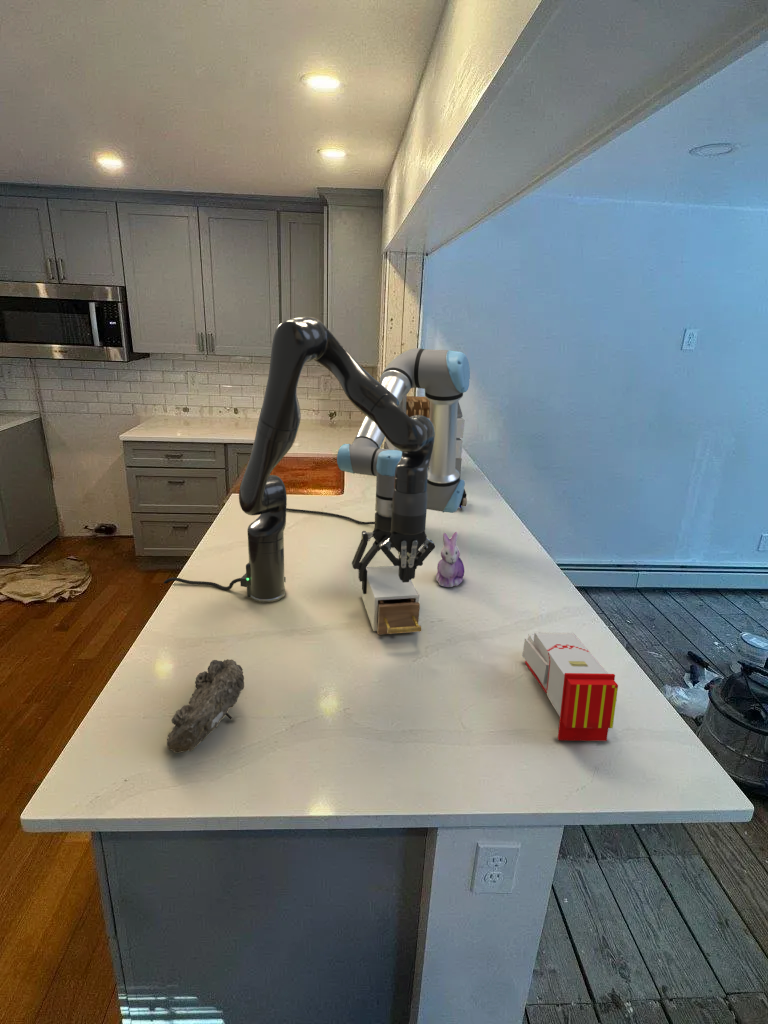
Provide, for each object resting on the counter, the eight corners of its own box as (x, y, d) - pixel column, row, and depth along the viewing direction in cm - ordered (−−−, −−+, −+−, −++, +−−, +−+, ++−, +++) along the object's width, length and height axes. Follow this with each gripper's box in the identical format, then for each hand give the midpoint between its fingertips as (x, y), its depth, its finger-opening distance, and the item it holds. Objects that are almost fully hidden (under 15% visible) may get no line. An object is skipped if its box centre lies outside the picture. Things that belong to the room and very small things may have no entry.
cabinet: (416, 628, 141) (419, 594, 138) (373, 631, 139) (374, 597, 136) (401, 595, 157) (403, 565, 154) (362, 598, 155) (363, 567, 151)
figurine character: (467, 515, 225) (461, 499, 238) (469, 498, 221) (463, 482, 235) (450, 514, 224) (445, 498, 238) (452, 497, 221) (447, 482, 234)
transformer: (382, 463, 289) (386, 382, 275) (445, 464, 293) (451, 384, 279) (390, 482, 257) (394, 392, 243) (460, 483, 261) (468, 394, 247)
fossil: (192, 660, 117) (244, 628, 112) (224, 691, 120) (276, 661, 115) (142, 746, 98) (202, 712, 93) (182, 779, 101) (242, 748, 96)
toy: (569, 616, 131) (627, 681, 101) (563, 669, 133) (618, 748, 104) (517, 615, 130) (560, 680, 101) (512, 669, 133) (553, 747, 104)
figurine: (445, 591, 160) (450, 542, 155) (426, 576, 169) (430, 529, 164) (473, 585, 164) (478, 537, 159) (453, 571, 173) (457, 525, 168)
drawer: (424, 645, 133) (426, 617, 130) (383, 648, 131) (384, 620, 128) (402, 600, 153) (404, 575, 150) (366, 602, 151) (367, 577, 148)
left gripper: (382, 515, 118) (379, 590, 124) (443, 513, 121) (437, 586, 126) (376, 504, 125) (373, 575, 131) (433, 502, 128) (428, 572, 133)
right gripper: (345, 519, 137) (343, 599, 144) (439, 516, 141) (432, 594, 149) (341, 508, 143) (340, 586, 151) (430, 506, 148) (425, 581, 156)
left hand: (405, 580), depth 129 cm, fingers closed
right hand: (386, 590), depth 150 cm, fingers closed on cabinet, 11 cm apart
